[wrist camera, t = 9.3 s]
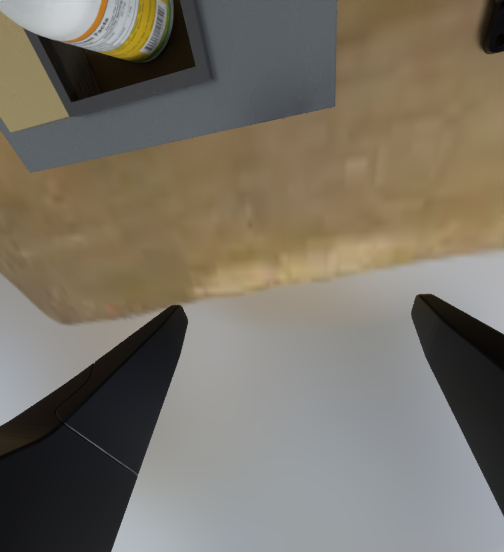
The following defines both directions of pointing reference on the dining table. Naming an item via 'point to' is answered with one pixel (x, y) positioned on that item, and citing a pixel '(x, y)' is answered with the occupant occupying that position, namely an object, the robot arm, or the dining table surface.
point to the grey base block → (169, 82)
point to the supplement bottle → (99, 24)
